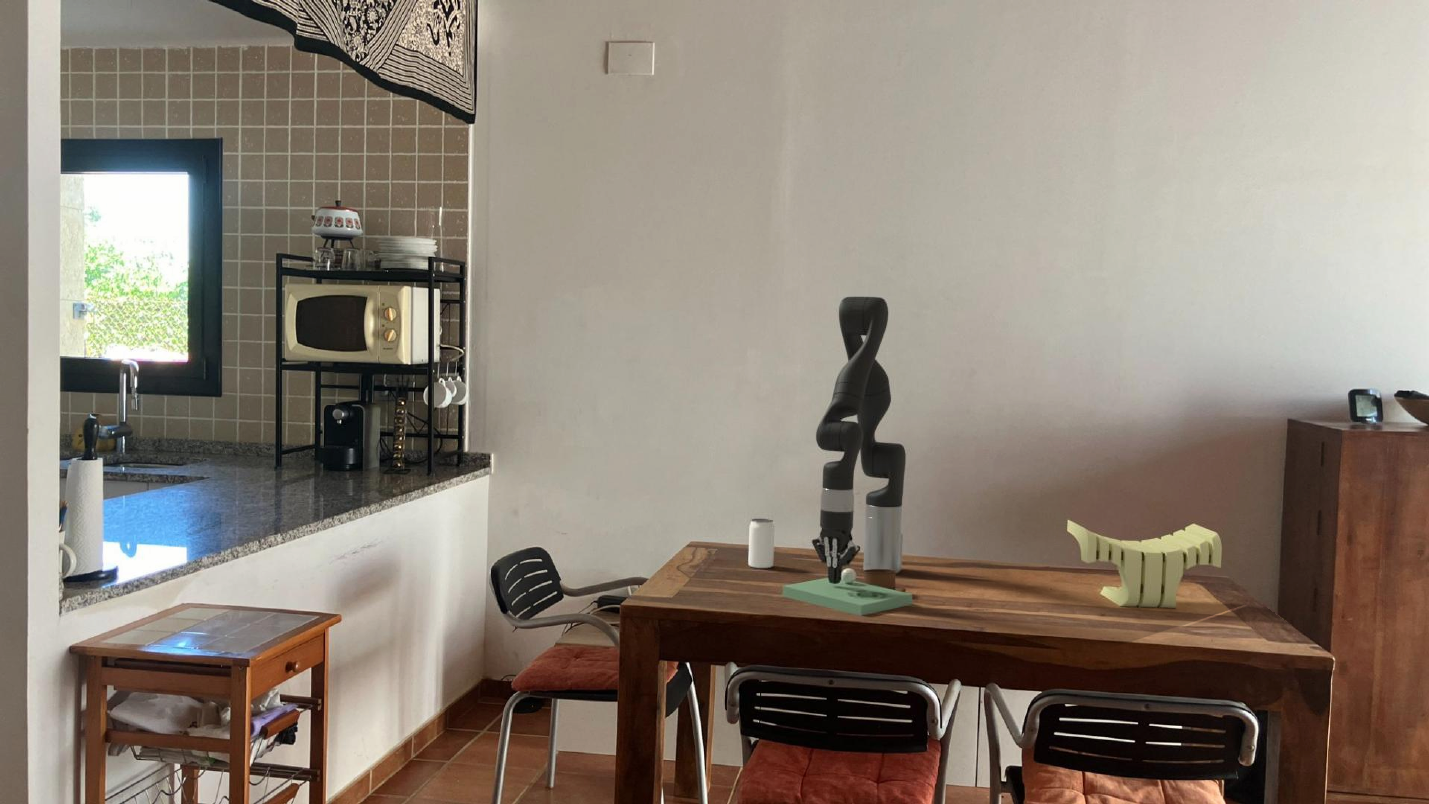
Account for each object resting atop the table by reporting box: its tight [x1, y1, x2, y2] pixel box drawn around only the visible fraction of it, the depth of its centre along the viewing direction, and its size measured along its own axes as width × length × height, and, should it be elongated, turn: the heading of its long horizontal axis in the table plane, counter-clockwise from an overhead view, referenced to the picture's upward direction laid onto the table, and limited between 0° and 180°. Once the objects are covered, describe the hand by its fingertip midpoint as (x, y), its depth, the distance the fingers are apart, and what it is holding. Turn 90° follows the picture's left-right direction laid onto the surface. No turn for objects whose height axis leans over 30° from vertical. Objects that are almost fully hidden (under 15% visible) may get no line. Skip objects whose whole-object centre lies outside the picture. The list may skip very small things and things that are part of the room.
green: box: [781, 577, 914, 617], centre depth 252 cm, size 23×18×2 cm
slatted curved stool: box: [1066, 519, 1223, 609], centre depth 260 cm, size 30×16×18 cm, turn 89°
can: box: [747, 518, 775, 569], centre depth 289 cm, size 6×6×12 cm
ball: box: [841, 568, 857, 583], centre depth 260 cm, size 4×4×4 cm
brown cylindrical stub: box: [863, 569, 906, 593], centre depth 261 cm, size 12×12×6 cm
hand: (834, 582), depth 256 cm, fingers closed
